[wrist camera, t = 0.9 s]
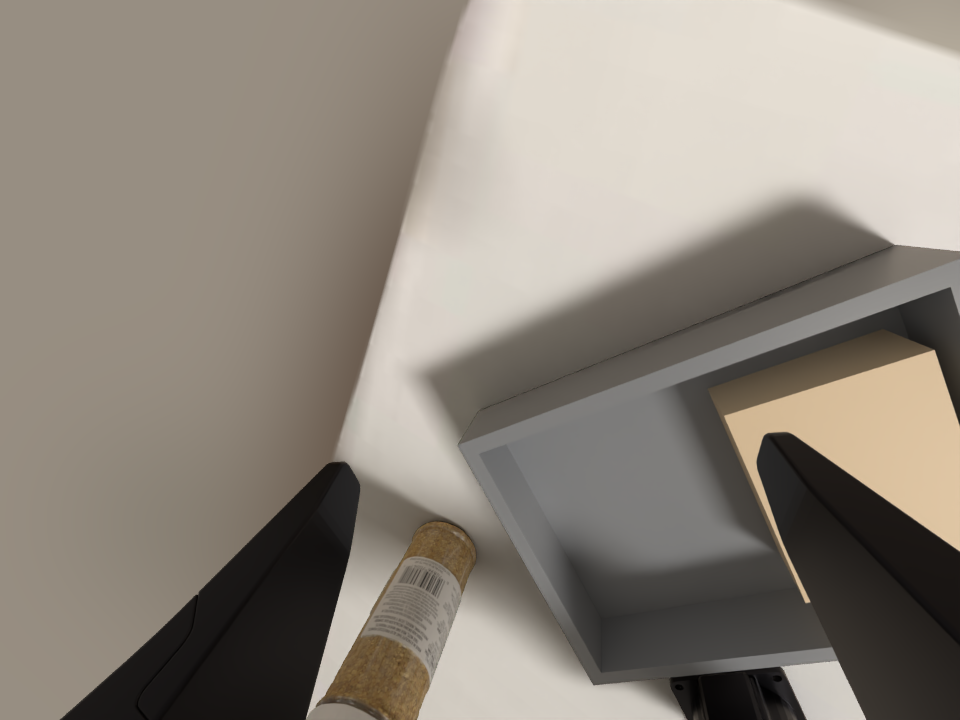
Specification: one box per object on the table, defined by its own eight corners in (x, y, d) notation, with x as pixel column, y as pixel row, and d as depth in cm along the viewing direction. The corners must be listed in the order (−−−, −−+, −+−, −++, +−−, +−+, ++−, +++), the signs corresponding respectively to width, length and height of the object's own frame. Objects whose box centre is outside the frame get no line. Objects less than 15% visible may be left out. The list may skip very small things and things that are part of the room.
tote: (999, 557, 20) (1089, 635, 16) (594, 622, 27) (593, 685, 24) (895, 244, 17) (975, 253, 14) (478, 411, 25) (457, 445, 21)
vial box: (950, 522, 19) (1008, 572, 17) (780, 554, 22) (805, 603, 19) (883, 329, 18) (934, 350, 15) (707, 388, 20) (724, 415, 18)
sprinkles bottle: (405, 549, 30) (267, 786, 17) (430, 506, 28) (296, 736, 16) (461, 585, 29) (360, 851, 17) (490, 543, 27) (401, 808, 15)
